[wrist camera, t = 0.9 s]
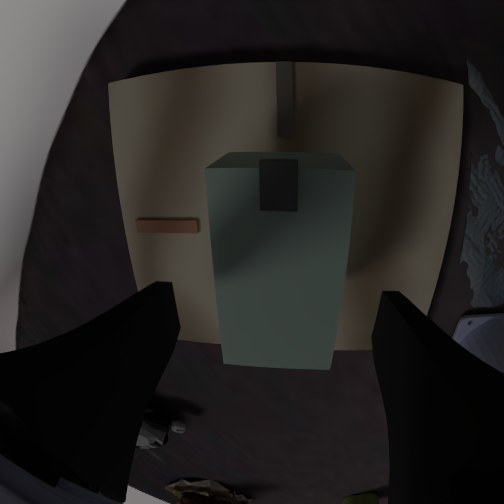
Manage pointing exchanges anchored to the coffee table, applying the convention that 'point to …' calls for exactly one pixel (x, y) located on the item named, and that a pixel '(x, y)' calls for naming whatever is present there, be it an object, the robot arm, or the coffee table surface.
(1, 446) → the robot arm
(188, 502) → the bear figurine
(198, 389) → the coffee table surface
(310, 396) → the coffee table surface
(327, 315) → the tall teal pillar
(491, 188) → the stuffed giraffe
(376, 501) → the plant pot
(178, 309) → the base
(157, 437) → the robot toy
